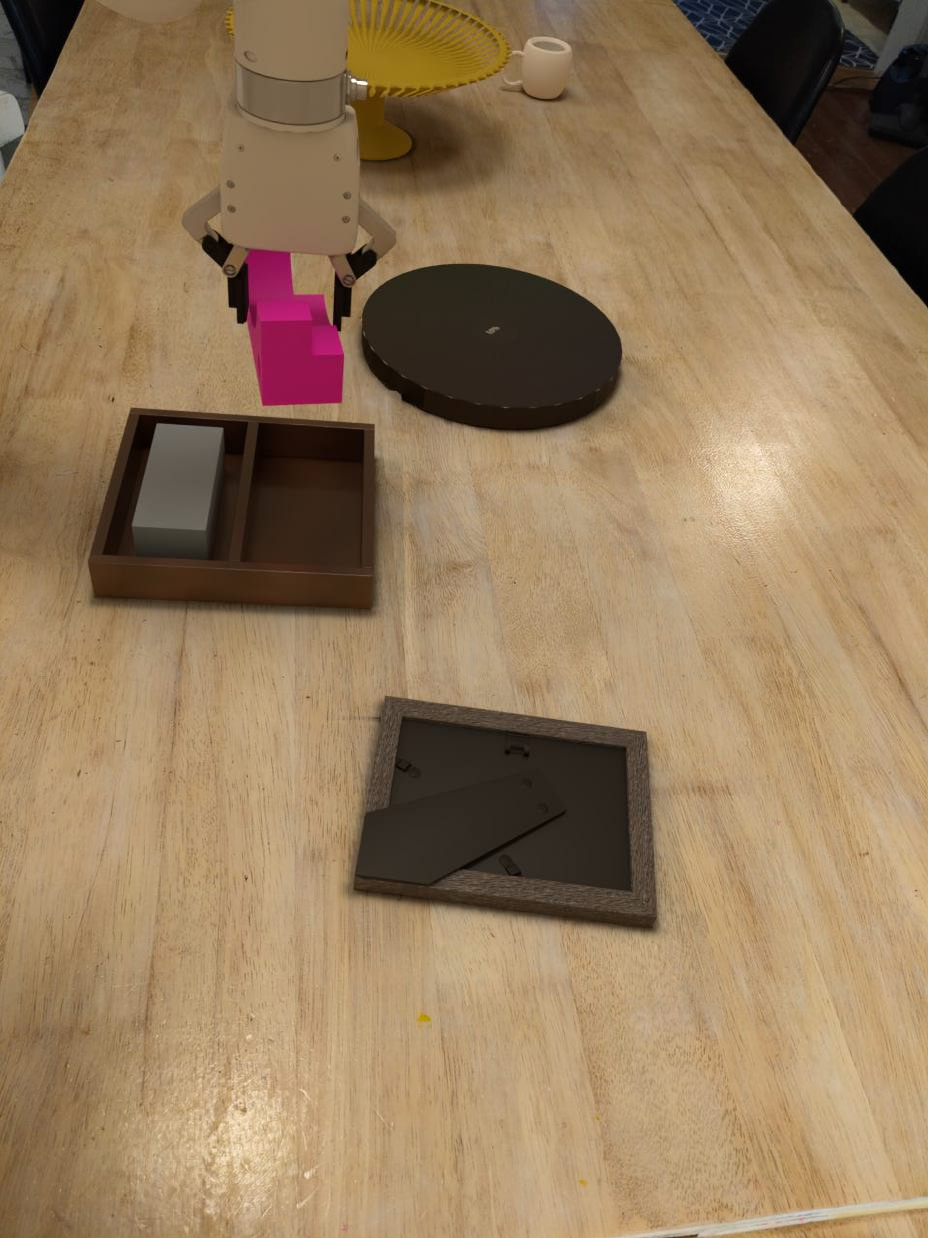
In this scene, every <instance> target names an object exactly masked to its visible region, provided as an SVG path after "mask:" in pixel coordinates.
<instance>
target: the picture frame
mask: <svg viewBox="0 0 928 1238" xmlns="http://www.w3.org/2000/svg"><path fill="white" fill-rule="evenodd" d="M380 716H381V717H380V722H379V729H378V735H377V740H376V747H375V753H374V759H373V765H372V771H371V777H370V783H369V788H368V794H367V801H366V806H365V811H364V812H365V813H364V819H363V825H362V831H361V836H360V842H359V848H358V853H357V854H358V855H357V860H356V866H355V872H354V878H353V889H354V890H360V891H367V892H368V891H369V892H375V893H376V892H377V893H385V894H392V895H399V896H407V897H415V898H421V899H422V898H423V899H430V900H437V901H445V902H453V903H461V904H467V905H475V906H482V907H483V906H484V907H490V908H498V909H504V910H513V911H522V912H529V913H536V914H545V915H552V916H561V917H568V918H575V919H582V920H590V921H599V922H605V923H606V922H607V923H612V924H620V925H621V924H622V925H629V926H636V927H642V928H643V927H644V928H652V927H653V925H654V924H655V922H656V920H657V918H658V906H657V890H656V888H657V887H656V872H655V855H654V853H655V852H654V838H653V835H654V834H653V819H652V802H651V785H650V770H649V769H650V768H649V751H648V749H649V748H648V735H647V734H648V733H647V731H646V730H645V731H643V730H638V729H632V728H624V727H615V726H607V725H601V724H595V723H594V724H593V723H586V722H580V721H571V720H565V719H558V718H551V717H543V716H536V715H528V714H521V713H516V712H515V713H514V712H506V711H499V710H494V709H493V710H492V709H485V708H478V707H471V706H463V705H457V704H450V703H441V702H434V701H427V700H421V699H413V698H406V697H399V696H391V695H384V699H383V703H382V710H381V715H380Z"/></svg>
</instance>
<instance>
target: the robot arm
mask: <svg viewBox="0 0 928 1238" xmlns="http://www.w3.org/2000/svg"><path fill="white" fill-rule="evenodd" d="M95 2H97V3H99V4H100V5H102V6H104V7H106V8H108V9H110V10H112V11H114V12H115V13H118V14H119V15H122V16H125V17H127V18H129V19H133V20H135V21H139V22H144V23H149V24H168V23H172V22H175V21H179V20H181V19H183V18H185V17H187V16H188V15H190V14H191V13H193V12H194V11H195V10H196V9H197V8H199V6H200V5H201V3H202V2H203V0H95ZM232 7H233V10H232V11H233V18H234V36H233V37H234V39H233V41H234V42H233V46H234V78H235V79H234V83H235V85H234V86H235V92H234V93H232V94H230V95H228V96H227V98H226V104H225V108H224V116H223V126H222V138H221V151H220V153H221V154H220V155H221V156H220V184H218V185H217V186H215V188H213V189H212V190H211V191H209V192H208V193H207V194H206V195H204V196H203V197H202V198H200V199H198V200H197V201H196V202H195V203H194V204H192V205H190V207H188V208H187V209H185V210H184V212H183V214H182V217H181V225H182V227H183V228H184V229H185V231H186V232H187V233H188V234H189V235H190V236H191V237H192V238H193V239H194V240H195V241H196V242H197V243H199V245H200V246H201V249H202V251H203V252H204V253H205V254H206V255H207V256H208V257H209V258H211V260H213V261H214V262H215V263H216V264H217V266H219V267H220V268H221V271H222V274H223V275H224V276H225V277H226V281H227V283H226V284H227V301H228V302H227V303H228V308H229V309H236V324H239V325H244V324H245V323H246V324H247V315H248V309H249V281H248V263H246V261H245V260H246V258H247V256H248V254H249V252H250V251H251V249H256V250H267V251H277V252H288V253H291V254H302V255H311V256H312V255H314V256H325V257H328V259H329V261H330V263H331V265H332V268H333V269H334V278H333V279H334V281H333V282H334V283H333V306H332V307H333V308H332V325H336V327H337V330H338V333H341V332H342V324H343V323H342V322H343V321H342V320H343V318H351V317H352V316H351V315H352V298H353V297H352V296H353V295H352V292H353V287H354V286H356V284H357V280H359V279H361V278H362V277H363V276H364V275H365V274H366V273H368V272H369V271H370V270H371V269H373V268H374V267H375V266H376V265H377V263H378V261H379V260H380V259H382V258H384V257H385V255H387V253H389V252H390V251H391V250H392V249H393V248H394V247H395V246H396V245H397V231H396V229H394V228H393V226H391V225H390V224H389V223H388V222H387V221H386V220H385V219H384V218H383V217H382V216H381V215H380V214H379V213H378V212H376V210H374V209H373V208H372V207H371V206H370V205H369V204H368V203H367V202H366V201H365V200H364V199H363V198H362V197H361V159H360V150H359V136H358V126H357V119H356V114H355V110H354V109H353V108H352V107H351V106H350V101H356V99H357V100H366V99H367V79H361V78H357V76H354V75H351V70H347V56H348V30H349V23H350V0H232ZM219 214H220V223H221V231H222V235H221V233H219V232H218V231H217V230H215V229H213V228H212V226H211V224H210V223H209V221H211V220H212V219H213V218H214V217H215V216H217V215H219ZM359 226H360V227H361V228H362V229H363V230H364V231H365V232H366V233H367V234H368V235H369V236H371V237H372V238H371V239H370V240H369V242H367V243H364V244H363V245H362V246H361V247H359V248H358V249H357V250H355V248H356V244H357V240H358V233H359ZM354 250H355V252H353V251H354Z"/></svg>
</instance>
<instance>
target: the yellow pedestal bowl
mask: <svg viewBox="0 0 928 1238" xmlns="http://www.w3.org/2000/svg"><path fill="white" fill-rule="evenodd" d="M359 1H360V2H359V4H360V24H359V20H358V13H357V3H356V0H350V8H349V11H350V18H351V23H350V22H349V30H348V56H347V70H351V75H354V76H357V78H361V79H367V99H366V100H357V99H356V101H350V106H351V107H352V108H353V109H354V110H355V114H356V119H357V126H358V136H359V150H360V160H364V161H365V160H367V161H386V160H391V159H397V158H400V157H402V156H405V155H406V154H408V152H409V151H411V148H412V146H413V141H412V139H411V137H410V135H409V134H408V133H407V132H405V131H404V130H402V129H401V128H399V127H398V126H396V125H394V124H392V123H390V122H389V121H387V120H385V110H386V109H385V107H386V97H387V96H388V97H389V99H393V98H396V97H398V98H399V99H402V98H406V97H407V98H408V99H409V98H413V97H416V98H420V97H423V96H424V97H427V96H431V95H436V94H440V93H443V92H446V91H451V90H454V89H458V88H461V87H462V88H463V87H465V86H469V85H472V84H475V83H479V82H482V81H486V80H488V79H489V78H490V77H493V76H496V75H497V74H498V73H500V72H501V71H503V70H501V69H502V68H504V67H505V68H507V67H508V65H507V64H510V63H511V61H510V59H512V58H513V56H509V55H510V54H512V53H513V52H511V51H512V50H510V49H512V48H513V47H512V46H510V44H511V41H507V40H506V39H507V36H505V35H502V34H503V31H499V30H496V29H497V27H496V26H491V25H490V24H491V22H488V21H483V20H482V19H483V17H477V16H474V13H472V12H466V11H465V8H456V7H455V4H445V3H444V1H437V0H418V3H417V6H416V8H415V9H414V12H413V15H412V17H411V19H410V21H409V22H408V25H407V26H406V28H405V29H404V27H405V25H406V22H407V19H408V17H409V15H410V12H411V10H412V8H413V6H414V4H415V2H416V0H406V3H405V6H404V9H403V12H402V15H401V18H400V20H399V22H398V25H397V27H396V29H395V26H396V22H397V19H398V14H399V12H400V8H401V5H402V3H403V1H404V0H394V3H393V7H392V12H391V14H390V15H391V16H390V18H389V23H388V26H387V28H386V23H387V17H388V12H389V7H390V3H391V0H382V7H381V12H380V20H379V24H378V26H377V18H378V17H377V15H378V7H379V6H378V5H379V0H371V1H370V2H371V5H370V6H371V8H370V20H369V21H370V23H369V24H368V14H367V13H368V12H367V5H368V3H367V0H359ZM429 2H430V4H429V6H428V8H427V10H426V13H424V16H423V18H422V19H421V21H420V23H419V24H418V25H417V27H416V28H415V29H414V27H415V25H416V23H417V21H418V19H419V17H420V15H421V14H422V12H423V10H424V9H425V7H426V5H427V4H428V3H429ZM439 6H440V9H439V10H438V11H437V12H436V13H437V14H436V15H435V16H434V18H433V20H432V21H431V22H430V23H429V25H428V26H427V27H426V28H425V29H424V30H423V28H424V27H425V25H426V24H427V22H428V21H429V19H430V18H431V17H432V15H433V14H434V12H435V11H436V10H437V8H438V7H439ZM229 8H230V10H228V11H226V14H228V15H225V16H224V18H225V19H227V20H224V21H223V23H224V24H226V25H227V26H225V28H226V29H227V30H229V31H227V34H229V35H231V39H233V40H234V18H233V6H229ZM450 9H451V11H450V12H449V14H448V16H447V17H446V18H445V19H444V20H443V21H442V23H441V24H440V25H439V27H437V28H436V29H435V30H434V31H433V32H432V30H433V29H434V28H435V27H436V25H437V23H439V22H440V20H441V19H442V18H443V16H444V15H445V14H446V13H447V12H448V11H449V10H450ZM459 13H460V15H459V16H458V17H457V19H456V20H455V21H454V22H453V23H452V24H451V25H450V26H449V27H448V28H447V29H446V30H445V31H444V32H443V33H441V32H442V31H443V30H444V29H445V27H447V26H448V25H449V24H450V22H451V21H452V20H453V19H454V18H455V17H456V16H457V15H458V14H459ZM468 18H470V19H468ZM466 19H468V20H467V22H465V23H464V24H463V25H462V26H461V27H460V28H459V29H458V30H457V31H456V32H455V33H453V34H452V32H453V31H454V30H455V29H456V28H457V27H459V26H460V25H461V24H462V23H463V22H464V21H466ZM476 22H478V23H476ZM475 23H476V24H475ZM473 24H475V25H474V26H473V27H472V28H471V29H469V30H468V31H467V32H465V34H463V35H462V36H460V35H461V34H462V33H463V32H464V31H466V30H467V29H468V28H469V27H471V26H472V25H473ZM368 25H369V26H368ZM482 27H484V28H483V29H482V30H480V29H481V28H482ZM413 29H414V30H413ZM422 30H423V31H422ZM479 30H480V32H478V33H476V34H475V35H474V36H473V37H471V38H469V39H468V40H466V39H467V38H468V37H470V36H471V35H472V34H474V33H475V32H477V31H479ZM431 32H432V33H431ZM488 32H490V33H488ZM430 33H431V34H430ZM487 33H488V34H487ZM451 34H452V35H451ZM485 34H486V35H485ZM449 35H450V36H449ZM483 35H485V36H483ZM448 36H449V37H448ZM459 36H460V37H459ZM482 36H483V38H481V37H482ZM457 37H458V38H457ZM456 38H457V39H456ZM479 38H481V39H479ZM492 38H493V39H492ZM477 39H479V40H478V41H476V40H477ZM490 39H491V40H490ZM465 40H466V41H465ZM488 40H489V41H488ZM463 41H464V42H463ZM474 41H476V42H474ZM486 41H488V42H486ZM473 42H474V43H473ZM485 42H486V43H485ZM471 43H473V44H471ZM483 43H484V44H483ZM495 43H496V44H495ZM481 44H483V45H481ZM493 44H494V45H493ZM479 45H481V46H479ZM491 45H493V46H491ZM478 46H479V47H478ZM489 46H490V47H489ZM476 47H477V48H476ZM487 47H488V48H487ZM486 48H487V49H486ZM497 48H498V49H497ZM484 49H485V50H484ZM495 49H496V50H495ZM482 50H483V51H482ZM493 50H494V51H493ZM491 51H492V52H491ZM489 52H491V53H489ZM487 53H488V54H487ZM485 54H486V55H485ZM496 54H497V55H496ZM505 64H506V65H505ZM505 68H504V69H505Z"/></svg>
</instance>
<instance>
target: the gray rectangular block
mask: <svg viewBox="0 0 928 1238" xmlns="http://www.w3.org/2000/svg"><path fill="white" fill-rule="evenodd" d="M225 472H226V463H225V446H224V429H223V428H219V427H204V426H189V425H174V424H159V423H157V425H156V429H155V433H154V437H153V441H152V445H151V449H150V454H149V458H148V462H147V466H146V470H145V474H144V478H143V482H142V486H141V490H140V494H139V498H138V502H137V507H136V511H135V515H134V519H133V523H132V531H133V538H134V544H135V551H136V557H154V558H174V559H194V560H211V558H212V552H213V546H214V540H215V534H216V528H217V521H218V515H219V509H220V503H221V497H222V491H223V484H224V478H225Z"/></svg>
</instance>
